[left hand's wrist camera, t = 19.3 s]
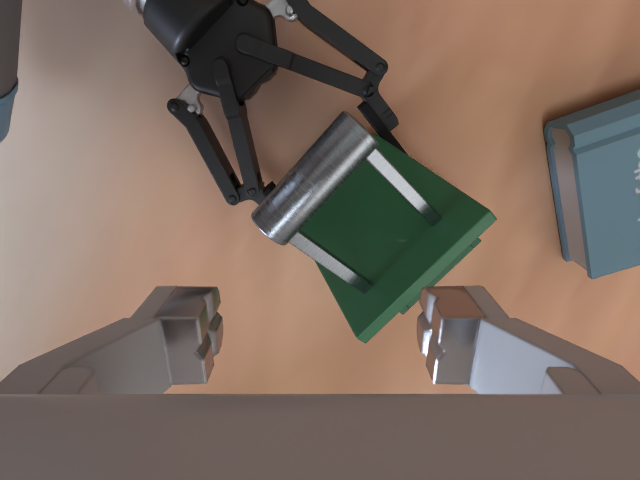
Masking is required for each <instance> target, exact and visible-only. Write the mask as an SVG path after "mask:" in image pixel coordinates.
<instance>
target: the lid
mask: <svg viewBox="0 0 640 480" xmlns="http://www.w3.org/2000/svg"><path fill="white" fill-rule="evenodd" d="M251 218H252V220H253V222H254V223H255V225H256V226H257V227H258V228H259V229H260V230H261V231H262V232H263V233H264V234H265V235H266V236H267V237H268V238H270V239H271V240H273V241H274V242H276V243H278V244H280V245H286V244H287V243H288V242H289V243H290V244H292V245H293V246H295V247H296V248H298V249H299V250H301V251H302V252H303V253H305V254H306V255H308V256H309V257H311V258H312V259H314V260H315V262H316V264H317V266H318V268H319V269H320V271H321V273H322V275H323V277H324V279H325V281H326V282H327V284H328V286H329V288H330V290H331V292H332V294H333V295H334V297H335V299H336V301H337V303H338V305H339V307H340V308H341V310H342V312H343V314H344V316H345V318H346V320H347V321H348V323H349V325H350V327H351V329H352V331H353V333H354V334H355V336H356V338H357V339H359V340H360V341H362V342H364V343H367V342H368V341H369V340H370V339H371V338H372V337H373V336H374V335H375V334H376V333H377V332H378V331H379V330H380V329H382V328H383V327H384V326H385V325H386V324H387V323H388V322H389V321H390V320H391V319H392V318H393V317H394V316H395V315H396V314H397V313H398V312H400V311H401V310H402V309H403V308H404V307H405V306H406V305H407V304H408V303H409V302H410V301H411V300H412V299H413V298H414V297H415V296H416V295H418V294H419V293H420V292H421V290H422V288H423V287H426V286H427V285H428V284H429V283H430V282H431V281H432V280H433V279H434V278H436V277H437V276H438V275H439V274H440V273H441V272H442V271H443V270H444V269H445V268H446V267H447V266H448V265H449V264H450V263H451V262H452V261H453V260H455V259H456V258H457V257H458V256H459V255H460V254H461V253H462V252H463V251H464V250H465V249H466V248H467V247H468V246H469V245H470V244H471V243H473V242H474V241H475V240H476V239H477V238H478V237H479V236H480V235H481V234H482V233H483V232H484V231H485V230H486V229H487V228H488V227H489V226H491V225H492V224H493V223H494V222H495V221H496V220H497V219H496V217H495V216H494V215H493V213H492V212H491V211H490V210H489V209H487V208H486V207H484V206H483V205H481V204H480V203H478V202H477V201H475V200H474V199H472V198H471V197H469V196H468V195H466V194H465V193H463V192H462V191H460V190H459V189H457V188H456V187H454V186H453V185H451V184H450V183H448V182H447V181H445V180H444V179H442V178H441V177H439V176H438V175H436V174H435V173H433V172H432V171H430V170H429V169H427V168H426V167H424V166H423V165H421V164H420V163H418V162H417V161H415V160H414V159H412V158H411V157H409V156H408V155H406V154H405V153H403V152H402V151H400V150H399V149H397V148H396V147H394V146H393V145H391V144H390V143H388V142H387V141H386V140H384V139H383V138H381V137H380V136H378V135H377V134H375V133H373V134H372V135H371V134H370V133H369V132H368V131H367V130H366V129H365V128H364V127H363V126H362V125H361V124H360V123H359V122H358V121H357V120H356V119H355V118H354V117H352V116H351V115H350V114H349V113H347V112H345V111H343V112H342V113H341V114H340V115H339V116H338V117H337V118H336V119H335V121H334V122H333V123H332V124H331V125H330V126H329V127H328V128H327V130H326V131H325V132H324V133H323V134H322V135H321V136H320V137H319V139H318V140H317V141H316V142H315V143H314V144H313V145H312V146H311V147H310V149H309V150H308V151H307V152H306V153H305V154H304V155H303V156H302V158H301V159H300V160H299V161H298V162H297V163H296V164H295V165H294V167H293V168H292V169H291V170H290V171H289V172H288V173H287V174H286V176H285V177H284V178H283V179H282V180H281V181H280V182H279V183H278V185H277V186H276V187H275V188H274V189H273V190H272V191H271V192H270V193H269V195H268V196H267V197H266V198H265V199H264V200H263V201H262V202H261V204H260V205H259V206H258V207H257V208H256V209H255V210H254V211H253V213H252V214H251Z"/></svg>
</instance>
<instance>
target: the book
mask: <svg viewBox="0 0 640 480" xmlns="http://www.w3.org/2000/svg"><path fill="white" fill-rule="evenodd" d="M544 136H545V140H546V142H547V143H548V144H547V147H546V149H547V155H548V162H549V168H550V175H551V181H552V188H553V194H554V201H555V207H556V214H557V220H558V227H559V233H560V240H561V246H562V253H563V259H564V260H565V261H567V262H568V261H571V260H573V261H574V262H576V263H577V264H579V265H580V266H582V267H583V268H584V269H586V270H587V274H588V277H590V278H591V279H595V278H598V277H601V276H605V275H608V274H611V273H615V272H618V271H621V270H624V269H628V268H631V267H634V266H638V265H640V89H638V90H636V91H633V92H630V93H627V94H624V95H622V96H619V97H616V98H613V99H610V100H608V101H605V102H602V103H599V104H596V105H594V106H591V107H588V108H585V109H582V110H580V111H577V112H574V113H571V114H568V115H566V116H563V117H560V118H557V119H554V120H552V121H549V122H547V124H546V126H545V129H544Z"/></svg>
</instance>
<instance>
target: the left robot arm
mask: <svg viewBox="0 0 640 480" xmlns="http://www.w3.org/2000/svg"><path fill="white" fill-rule="evenodd" d="M220 303H221V301H220V294H219V290H218V288H217V287H201V286H157V287H156V288H155V289H154V290H153V291H152V293H151V294H150V295H149V296H148V297H147V299H146V300H145V301H144V302H143V303H142V305H141V306H140V307H139V308H138V309H137V310H136V312H135V313H134V314H133V315H132V316H131V318H123V319H121V320H119V321H116V322H114V323H112V324H110V325H108V326H105V327H103V328H101V329H99V330H96V331H94V332H92V333H90V334H87V335H85V336H83V337H81V338H79V339H76V340H74V341H72V342H70V343H67V344H65V345H63V346H61V347H59V348H56V349H54V350H52V351H50V352H47V353H45V354H43V355H41V356H38V357H36V358H34V359H32V360H30V361H27V362H25V363H23V364H21V365H19V366H18V367H17V368H15V369H14V370H13V371H12V372H11V373H10V374H9V375H8V376H7V377H6V378H5V379H3V380H2V381H1V382H0V480H640V382H639V381H638V380H637V379H636V378H635V377H634V376H632V375H631V374H630V373H629V372H628V371H627V370H626V369H625V368H624V367H623V366H621V365H619V364H617V363H615V362H612V361H610V360H608V359H606V358H603V357H601V356H599V355H597V354H595V353H592V352H590V351H588V350H586V349H583V348H581V347H579V346H577V345H575V344H572V343H570V342H568V341H566V340H563V339H561V338H559V337H557V336H555V335H552V334H550V333H548V332H546V331H544V330H541V329H539V328H537V327H535V326H532V325H530V324H528V323H526V322H524V321H521V320H519V319H517V318H509V316H508V315H507V314H506V313H505V312H504V311H503V309H502V308H501V307H500V306H499V305H498V303H497V302H496V301H495V300H494V299H493V297H492V296H491V295H490V294H489V293H488V291H487V290H486V289H485V288H484V287H482V286H438V287H423V288H422V290H421V293H420V301H419V303H420V305H421V307H422V309H423V312H422V313H421V314H420V315H419V316H418V320H417V340H418V344H419V348H420V351H421V353H422V354H423V355H425V356H426V357H427V359H426V367H427V369H428V372H429V374H430V377H431V379H432V382H433V384H462V385H469V387H471V388H472V389H473V390H474V391H475V392H476V393H478V394H163V393H164V392H165V391H166V390H167V389H168V388H170V387H171V385H178V384H207V382H208V379H209V377H210V374H211V372H212V369H213V366H214V359H213V357H214V356H215V355H217V354H218V353H219V351H220V348H221V345H222V338H223V320H222V316H221V315H220V314H219V313H218V312H217V309H218V307H219V305H220Z"/></svg>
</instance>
